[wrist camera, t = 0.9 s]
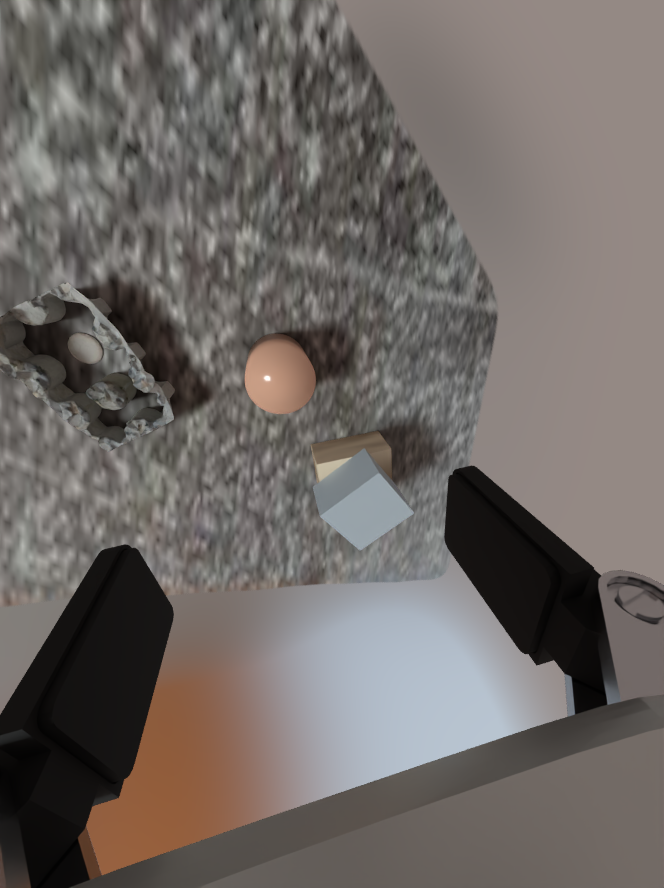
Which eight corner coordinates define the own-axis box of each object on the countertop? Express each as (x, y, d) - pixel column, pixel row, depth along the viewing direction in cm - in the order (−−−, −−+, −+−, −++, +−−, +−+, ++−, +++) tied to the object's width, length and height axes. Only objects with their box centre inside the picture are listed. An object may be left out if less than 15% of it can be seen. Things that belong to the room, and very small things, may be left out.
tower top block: (312, 486, 28) (319, 516, 25) (364, 448, 28) (379, 472, 24) (349, 520, 31) (360, 550, 28) (396, 486, 31) (414, 513, 27)
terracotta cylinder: (240, 338, 25) (236, 352, 20) (301, 328, 25) (309, 339, 21) (255, 396, 27) (254, 419, 23) (310, 386, 28) (320, 406, 23)
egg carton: (1, 319, 21) (-51, 328, 18) (98, 274, 21) (66, 274, 18) (112, 441, 27) (89, 466, 23) (190, 405, 27) (179, 425, 23)
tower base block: (310, 443, 31) (316, 464, 27) (377, 429, 32) (391, 448, 28) (319, 497, 34) (326, 521, 31) (379, 483, 35) (392, 506, 32)
